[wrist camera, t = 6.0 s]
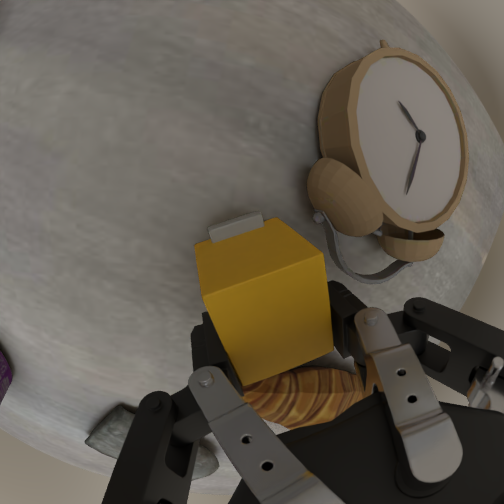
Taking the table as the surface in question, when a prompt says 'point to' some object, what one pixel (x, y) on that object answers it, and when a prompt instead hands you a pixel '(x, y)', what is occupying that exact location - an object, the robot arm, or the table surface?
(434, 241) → the alarm clock
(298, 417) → the croissant
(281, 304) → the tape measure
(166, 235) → the table surface
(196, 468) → the stone
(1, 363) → the beverage can
